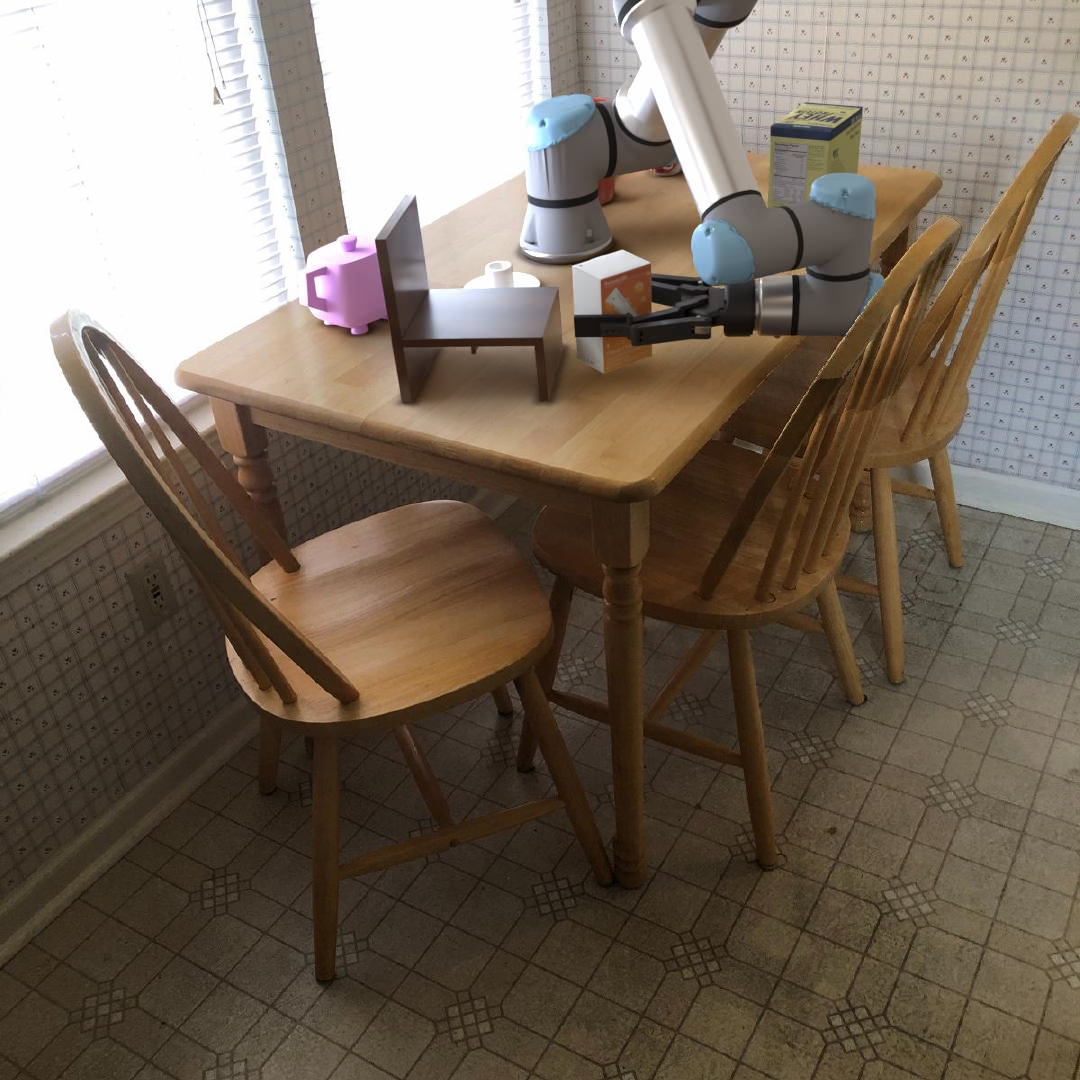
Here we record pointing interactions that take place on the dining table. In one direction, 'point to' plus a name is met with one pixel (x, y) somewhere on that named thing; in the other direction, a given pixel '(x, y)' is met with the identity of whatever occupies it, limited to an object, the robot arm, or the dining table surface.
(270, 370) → the dining table surface
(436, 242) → the dining table surface
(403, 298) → the wooden toy chair
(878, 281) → the robot arm
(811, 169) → the protein box
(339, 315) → the teapot
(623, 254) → the small box
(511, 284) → the candle holder
